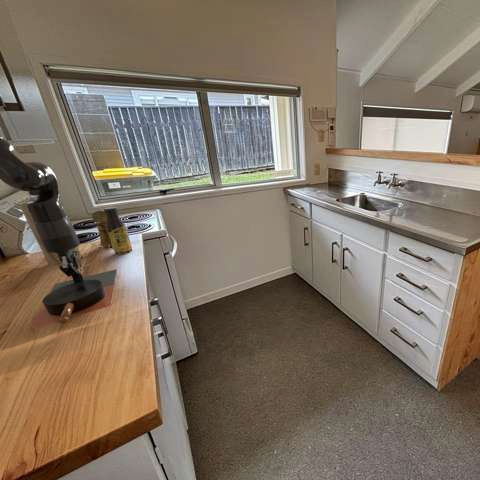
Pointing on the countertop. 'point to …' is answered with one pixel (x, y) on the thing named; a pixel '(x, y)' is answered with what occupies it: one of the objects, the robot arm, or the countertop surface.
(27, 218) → the tube
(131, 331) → the countertop surface
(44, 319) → the board
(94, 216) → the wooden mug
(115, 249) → the sauce bottle
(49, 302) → the pan
